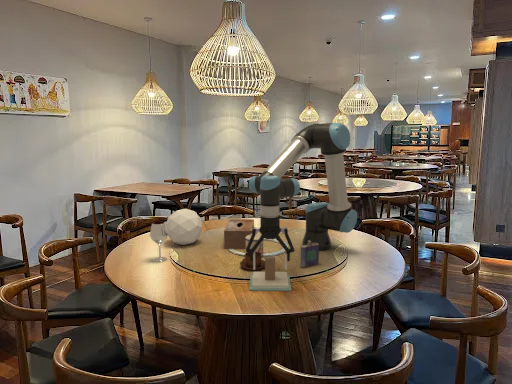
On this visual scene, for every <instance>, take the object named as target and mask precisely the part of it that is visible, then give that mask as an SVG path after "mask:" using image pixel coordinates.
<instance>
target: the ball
mask: <svg viewBox="0 0 512 384" xmlns="http://www.w3.org/2000/svg"><path fill="white" fill-rule="evenodd" d="M165 225H166V228H167V231H168V236H167V237H169V239H170V240H171V241H172V242H173V243H175V244H178V245H180V246H186V245H190V244H193V243H194V242H196V241H197V240H198V239H199V238H200V237H201V233H202V229H203V223H202V219H201V217H200V216H199V214H197V212H196V211H194V210H191V209H188V208H183V209H179V210H178V209H177V210H175V211H174V212H173V213H171V214H170V215H169V216H168V217H167V220H166V222H165Z"/></svg>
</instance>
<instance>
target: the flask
mask: <svg viewBox="0 0 512 384" xmlns="http://www.w3.org/2000/svg"><path fill="white" fill-rule="evenodd" d="M307 242H308V245H304V246H302V245H301V246H300V263H299V265H300V268H302V269H305V268H310V267H312V266H313V267H314V266H317V265H319V260H320V259H319V256H320V250H319V244H318V243H311V241H310V240H308V241H307Z"/></svg>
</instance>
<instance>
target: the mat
mask: <svg viewBox="0 0 512 384" xmlns="http://www.w3.org/2000/svg"><path fill="white" fill-rule="evenodd" d="M287 277H288V284H289V288H252V280H253V273H251V274H250V277H249V278H250V280H249V289H248V290H249V292H267V291H268V292H292V285H291V279H290V278H291V277H290V274H289V273H287Z"/></svg>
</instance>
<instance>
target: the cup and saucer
mask: <svg viewBox="0 0 512 384" xmlns="http://www.w3.org/2000/svg"><path fill="white" fill-rule="evenodd" d="M239 265H240V267H241V268H243V269H245V270H250V271H255V270H260V269H263V268H264V269H265V259H264V260H263V259H262V256H261V253H260V252H255V270H253V261H251V260H250V253H249V252H247V253H246V252H245V253H244V257H243V259H241V261H239Z"/></svg>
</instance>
